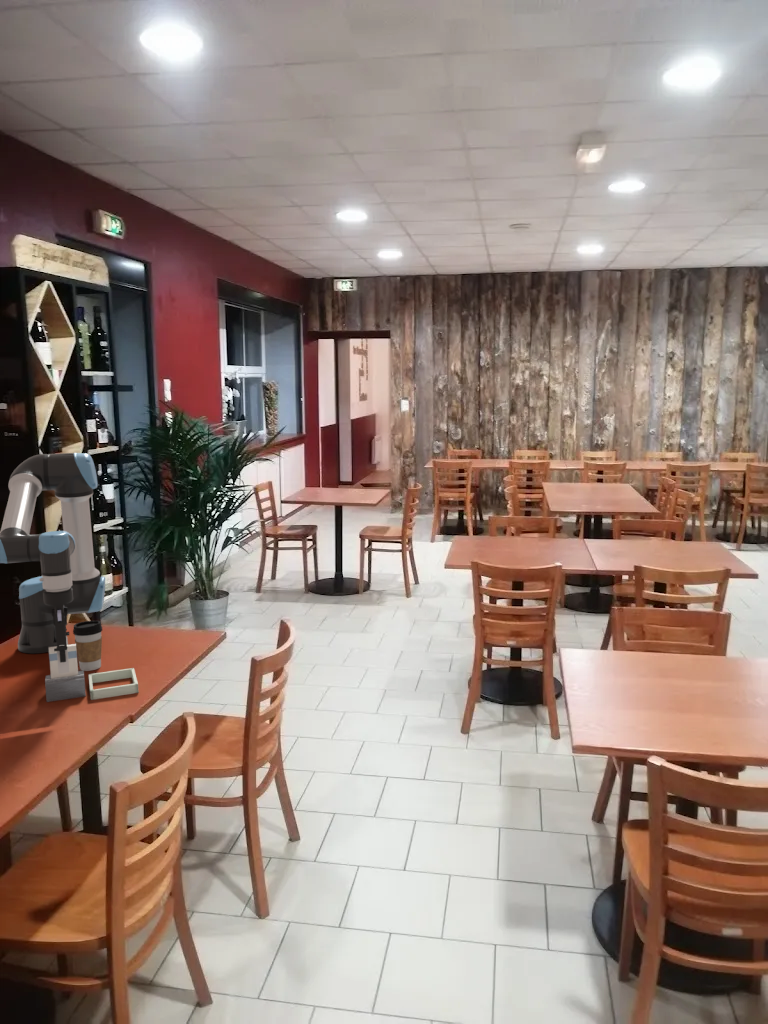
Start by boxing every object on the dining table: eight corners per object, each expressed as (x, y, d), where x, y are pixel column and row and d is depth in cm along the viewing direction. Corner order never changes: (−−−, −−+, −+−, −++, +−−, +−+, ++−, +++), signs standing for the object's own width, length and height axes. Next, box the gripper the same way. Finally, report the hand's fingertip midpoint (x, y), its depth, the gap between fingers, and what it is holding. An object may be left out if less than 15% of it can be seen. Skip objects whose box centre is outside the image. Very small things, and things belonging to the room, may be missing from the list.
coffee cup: (95, 676, 234) (92, 628, 232) (70, 674, 236) (66, 626, 233) (110, 666, 242) (107, 619, 240) (86, 664, 244) (82, 618, 241)
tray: (89, 685, 227) (88, 674, 226) (134, 679, 231) (133, 667, 231) (91, 703, 214) (90, 691, 214) (138, 695, 219) (138, 684, 218)
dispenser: (47, 695, 219) (45, 673, 218) (85, 690, 223) (83, 668, 222) (46, 705, 213) (45, 682, 212) (86, 699, 217) (84, 676, 216)
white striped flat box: (52, 695, 217) (48, 647, 215) (79, 691, 220) (75, 643, 218) (52, 697, 216) (48, 648, 214) (79, 693, 218) (76, 645, 216)
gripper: (43, 580, 222) (49, 654, 226) (41, 600, 201) (48, 682, 205) (71, 577, 225) (77, 650, 228) (73, 597, 204) (79, 677, 207)
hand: (63, 665), depth 217 cm, fingers open, 10 cm apart
